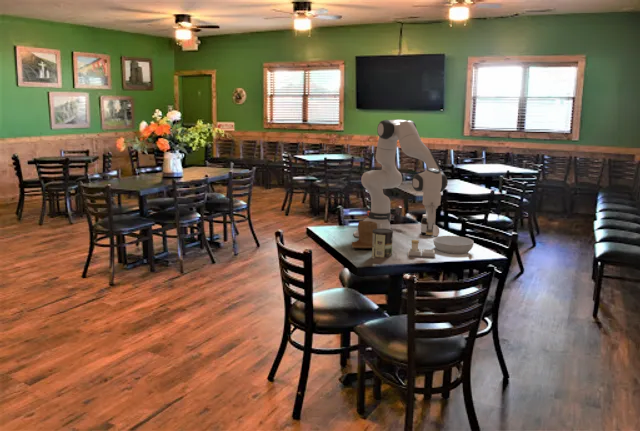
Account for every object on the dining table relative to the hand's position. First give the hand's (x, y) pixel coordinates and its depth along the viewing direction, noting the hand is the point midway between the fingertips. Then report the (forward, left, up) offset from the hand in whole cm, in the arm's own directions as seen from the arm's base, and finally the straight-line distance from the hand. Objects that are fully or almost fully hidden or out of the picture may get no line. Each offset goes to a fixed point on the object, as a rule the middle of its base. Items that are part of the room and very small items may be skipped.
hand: (429, 228), depth 283 cm
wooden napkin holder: (-33, +15, -16) cm, 40 cm away
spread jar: (+4, +55, -16) cm, 57 cm away
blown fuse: (0, 0, -3) cm, 3 cm away
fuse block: (-3, 0, -16) cm, 16 cm away
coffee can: (-23, -3, -16) cm, 29 cm away
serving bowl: (+14, +15, -16) cm, 26 cm away
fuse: (-7, 0, -14) cm, 16 cm away
